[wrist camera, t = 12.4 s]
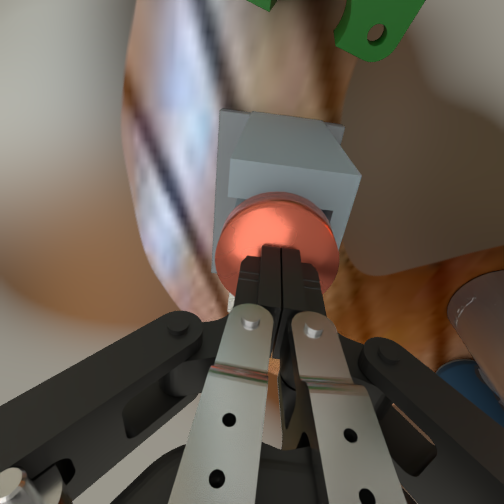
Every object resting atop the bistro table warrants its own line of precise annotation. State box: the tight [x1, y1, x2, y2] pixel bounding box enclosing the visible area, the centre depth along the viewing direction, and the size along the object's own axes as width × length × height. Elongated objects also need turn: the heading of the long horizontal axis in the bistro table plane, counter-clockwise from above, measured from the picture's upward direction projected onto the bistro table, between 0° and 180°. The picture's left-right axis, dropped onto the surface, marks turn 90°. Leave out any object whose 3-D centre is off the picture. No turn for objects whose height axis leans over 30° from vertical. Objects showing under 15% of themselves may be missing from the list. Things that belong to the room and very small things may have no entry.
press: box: [211, 109, 362, 273], centre depth 24 cm, size 10×16×14 cm, turn 173°
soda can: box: [436, 359, 504, 428], centre depth 35 cm, size 7×7×12 cm
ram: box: [215, 192, 339, 297], centre depth 18 cm, size 5×5×14 cm
